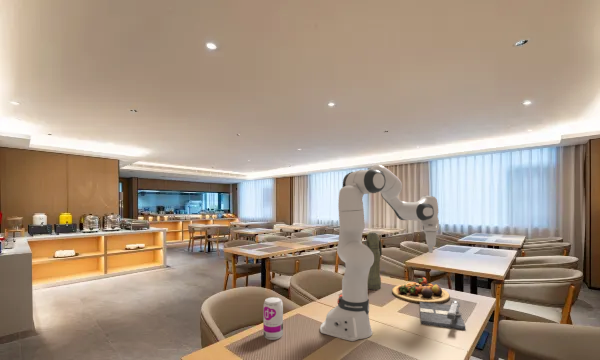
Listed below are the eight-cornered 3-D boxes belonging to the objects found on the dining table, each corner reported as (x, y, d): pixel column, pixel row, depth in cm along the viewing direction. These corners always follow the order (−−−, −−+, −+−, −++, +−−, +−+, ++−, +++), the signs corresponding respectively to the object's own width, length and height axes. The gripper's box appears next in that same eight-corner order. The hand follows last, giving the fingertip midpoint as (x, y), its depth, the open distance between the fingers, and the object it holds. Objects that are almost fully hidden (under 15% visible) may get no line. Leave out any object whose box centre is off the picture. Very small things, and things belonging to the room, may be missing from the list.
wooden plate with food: (407, 284, 198) (406, 271, 198) (458, 294, 175) (457, 280, 175) (382, 296, 175) (381, 282, 176) (436, 310, 152) (435, 294, 153)
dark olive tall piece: (385, 288, 187) (384, 233, 189) (370, 290, 183) (369, 234, 185) (377, 284, 195) (376, 232, 198) (362, 286, 191) (361, 232, 193)
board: (421, 324, 135) (420, 312, 135) (419, 304, 159) (419, 294, 159) (466, 330, 128) (466, 317, 128) (458, 309, 152) (457, 298, 153)
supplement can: (275, 342, 119) (275, 304, 119) (259, 337, 123) (259, 300, 124) (286, 334, 125) (286, 298, 126) (271, 329, 130) (271, 295, 131)
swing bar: (451, 303, 145) (451, 299, 145) (460, 304, 143) (460, 301, 143) (445, 318, 128) (445, 313, 128) (456, 320, 125) (456, 315, 126)
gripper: (422, 224, 166) (423, 248, 166) (424, 227, 147) (424, 255, 147) (434, 224, 164) (435, 249, 163) (437, 228, 145) (438, 256, 144)
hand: (430, 252), depth 155 cm, fingers closed
